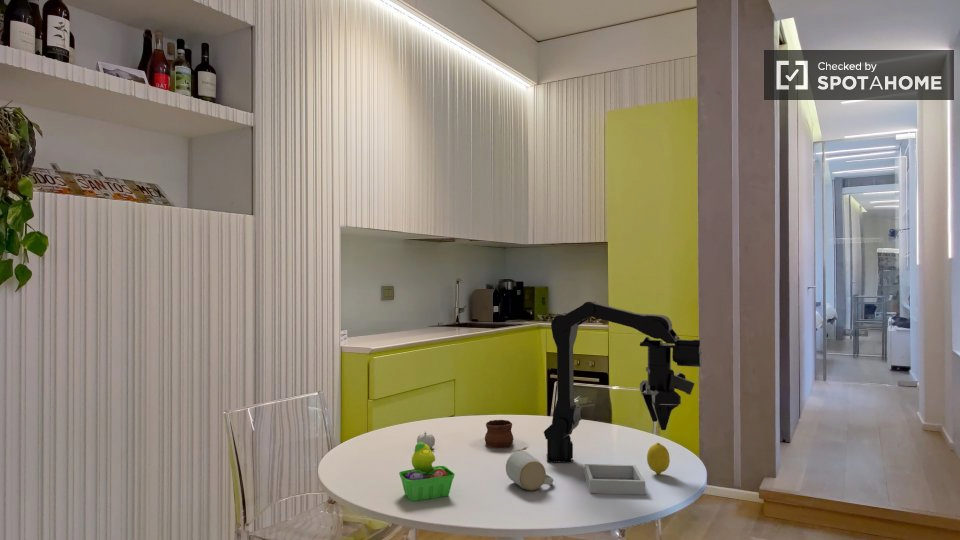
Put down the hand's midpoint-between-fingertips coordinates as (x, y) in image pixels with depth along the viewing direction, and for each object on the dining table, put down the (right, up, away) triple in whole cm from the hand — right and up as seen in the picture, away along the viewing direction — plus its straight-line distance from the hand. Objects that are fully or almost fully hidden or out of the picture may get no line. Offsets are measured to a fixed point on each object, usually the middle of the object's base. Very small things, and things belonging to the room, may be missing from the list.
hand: (658, 425), depth 160 cm
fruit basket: (-58, -12, -16) cm, 62 cm away
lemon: (0, -12, -1) cm, 12 cm away
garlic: (-61, -12, +22) cm, 67 cm away
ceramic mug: (-33, -12, -10) cm, 37 cm away
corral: (-14, -12, -9) cm, 20 cm away
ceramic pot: (-40, -13, +27) cm, 50 cm away
